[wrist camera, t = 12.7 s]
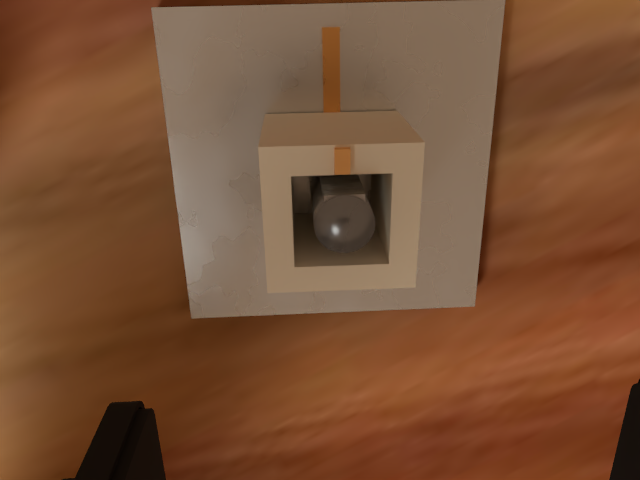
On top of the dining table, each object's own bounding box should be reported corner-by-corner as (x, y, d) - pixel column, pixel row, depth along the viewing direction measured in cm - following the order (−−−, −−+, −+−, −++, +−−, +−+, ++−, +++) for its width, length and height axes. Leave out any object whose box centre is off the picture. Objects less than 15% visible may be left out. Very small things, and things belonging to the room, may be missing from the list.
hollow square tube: (392, 231, 29) (416, 291, 24) (271, 235, 29) (267, 296, 23) (397, 110, 27) (426, 144, 21) (264, 113, 26) (257, 149, 21)
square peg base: (468, 296, 32) (522, 383, 25) (194, 307, 32) (164, 400, 24) (496, -1, 26) (578, -4, 19) (157, 7, 26) (101, 7, 18)
